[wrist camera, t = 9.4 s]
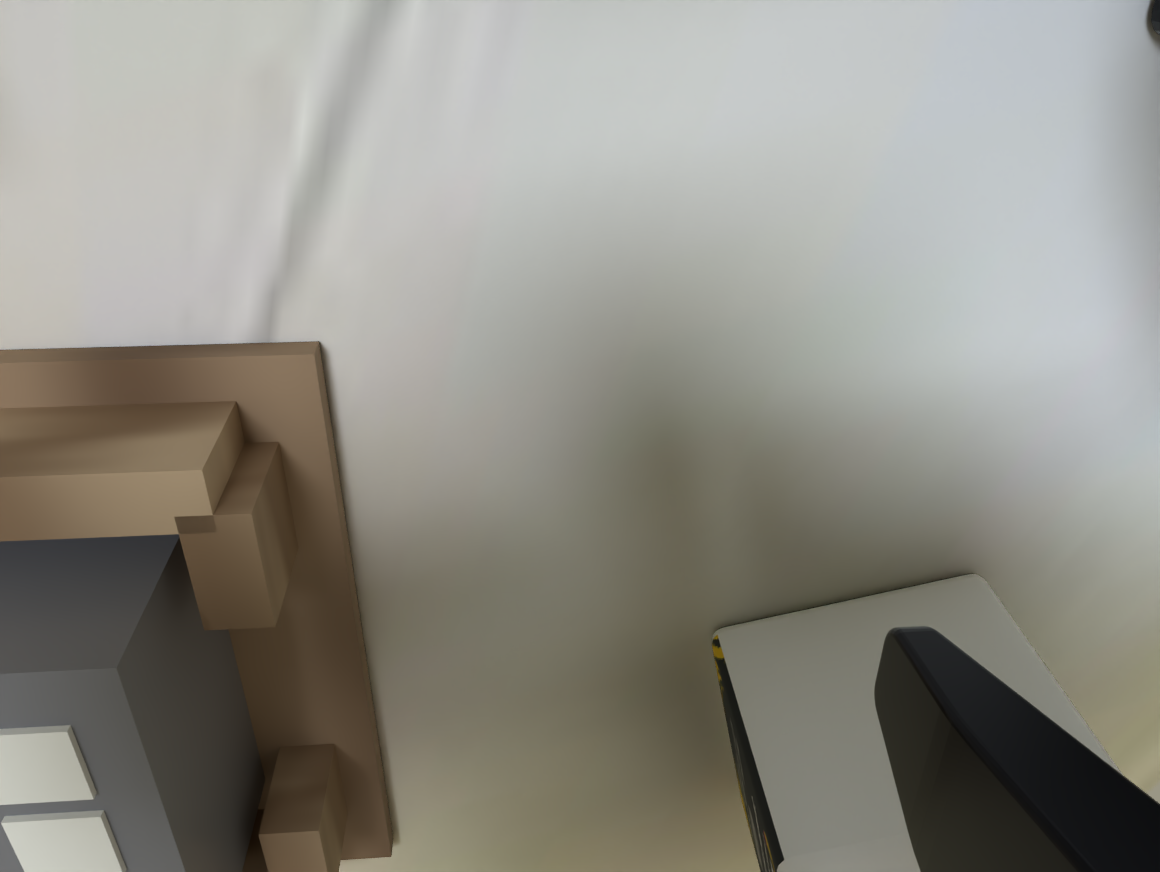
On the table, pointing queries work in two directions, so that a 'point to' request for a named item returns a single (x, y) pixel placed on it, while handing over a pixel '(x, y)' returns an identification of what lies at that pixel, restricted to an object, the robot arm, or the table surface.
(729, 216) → the table surface
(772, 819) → the medicine bottle
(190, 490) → the cradle board
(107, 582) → the power strip
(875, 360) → the table surface
